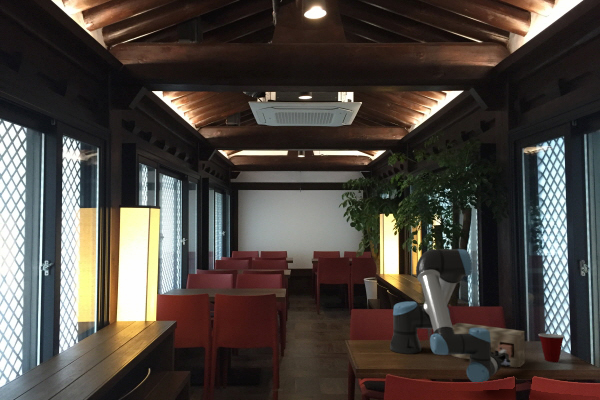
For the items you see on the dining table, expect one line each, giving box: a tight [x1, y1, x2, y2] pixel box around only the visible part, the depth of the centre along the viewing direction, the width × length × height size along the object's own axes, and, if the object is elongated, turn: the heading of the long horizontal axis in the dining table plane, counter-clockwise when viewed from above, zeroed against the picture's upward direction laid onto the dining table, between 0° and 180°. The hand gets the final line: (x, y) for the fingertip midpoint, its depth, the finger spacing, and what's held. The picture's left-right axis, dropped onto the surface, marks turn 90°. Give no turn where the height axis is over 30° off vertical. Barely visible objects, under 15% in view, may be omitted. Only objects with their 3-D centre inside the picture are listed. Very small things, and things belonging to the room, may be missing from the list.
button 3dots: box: [498, 343, 514, 359], centre depth 206 cm, size 5×8×5 cm, turn 142°
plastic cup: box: [537, 333, 565, 363], centre depth 215 cm, size 11×11×12 cm
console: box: [450, 322, 526, 368], centre depth 217 cm, size 30×10×14 cm, turn 52°
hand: (504, 352), depth 203 cm, fingers closed
